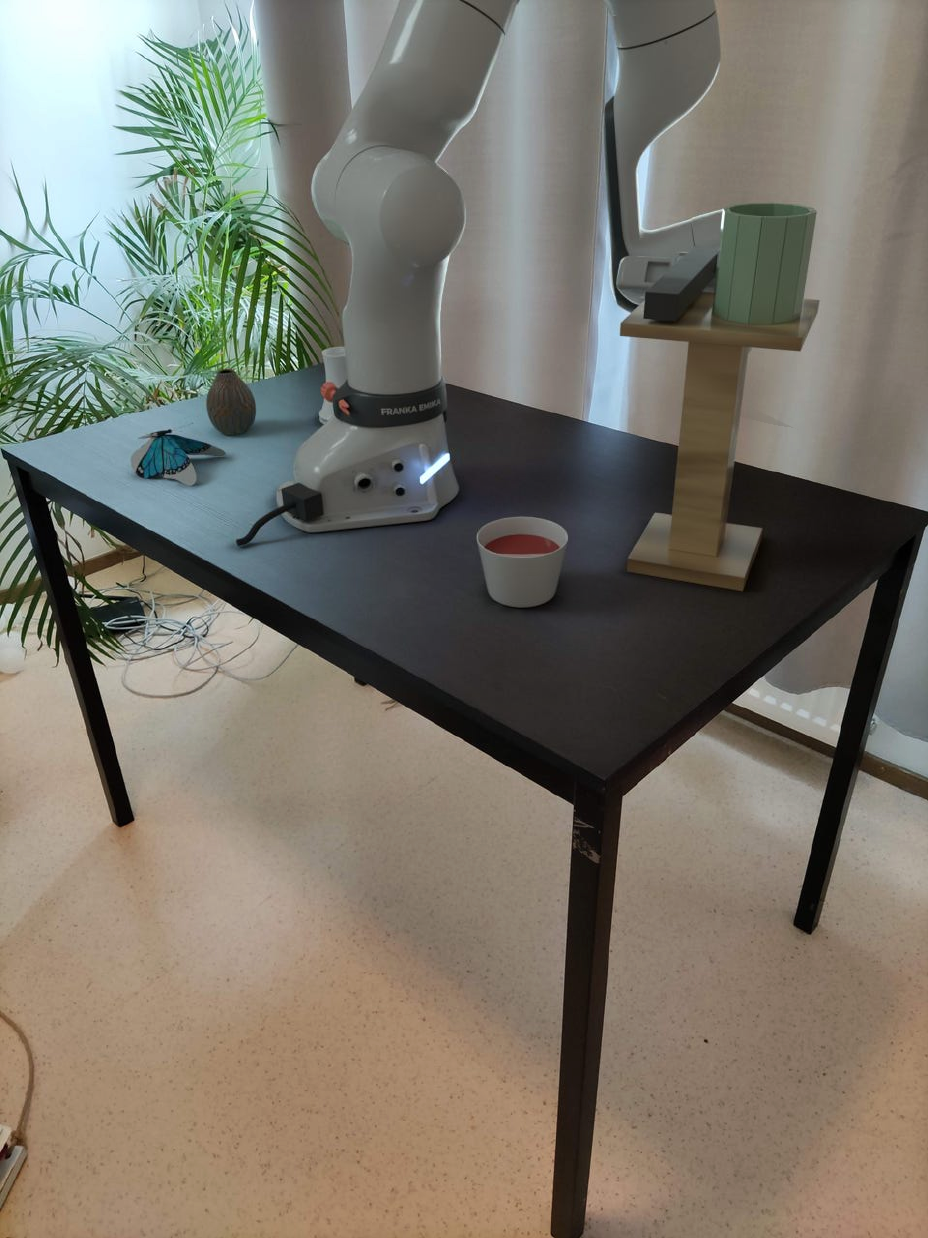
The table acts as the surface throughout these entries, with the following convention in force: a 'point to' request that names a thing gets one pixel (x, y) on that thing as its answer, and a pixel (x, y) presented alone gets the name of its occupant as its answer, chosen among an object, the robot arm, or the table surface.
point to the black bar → (681, 284)
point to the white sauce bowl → (522, 559)
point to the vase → (230, 404)
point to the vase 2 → (333, 376)
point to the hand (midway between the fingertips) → (701, 260)
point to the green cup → (763, 262)
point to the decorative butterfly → (170, 456)
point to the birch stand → (708, 445)
